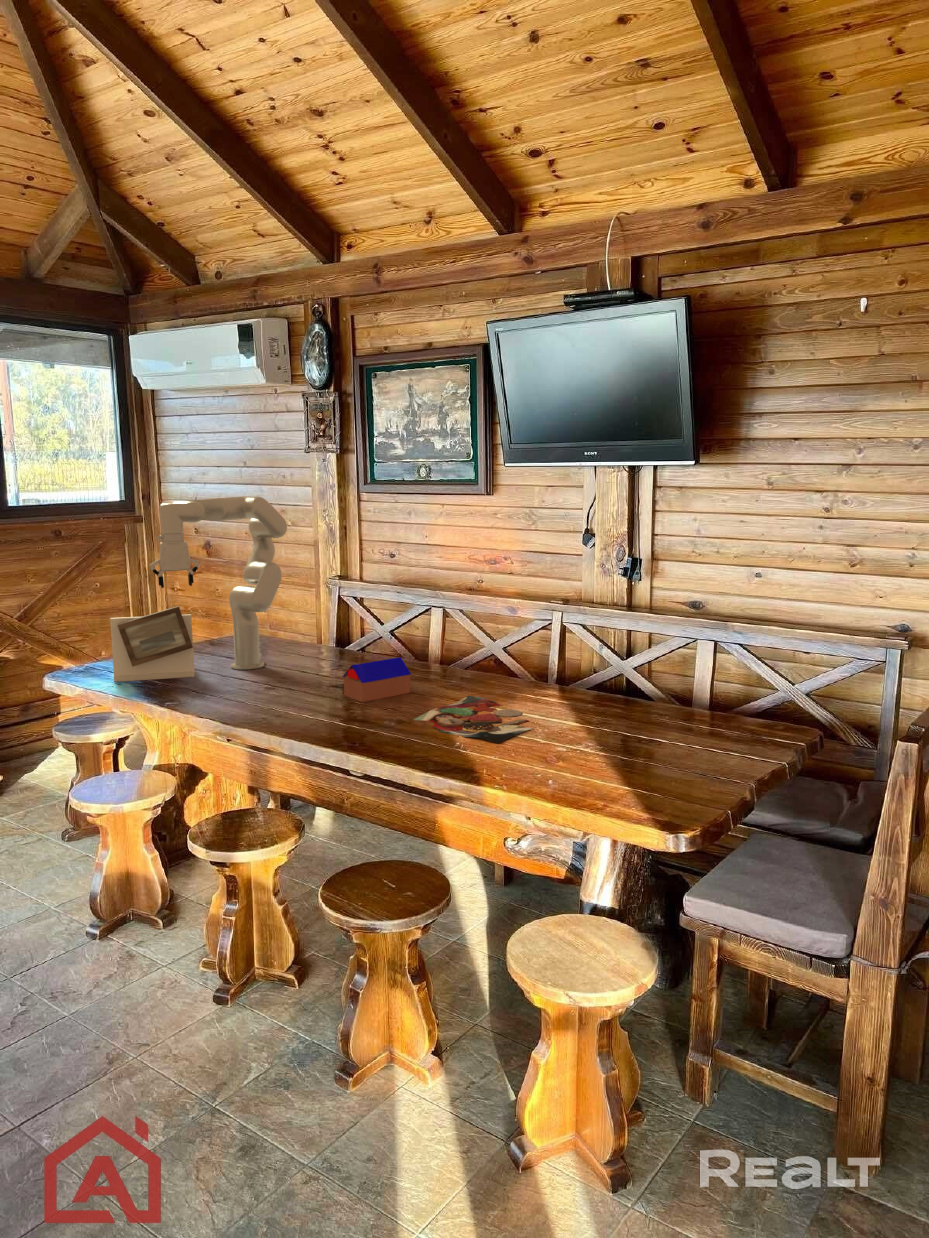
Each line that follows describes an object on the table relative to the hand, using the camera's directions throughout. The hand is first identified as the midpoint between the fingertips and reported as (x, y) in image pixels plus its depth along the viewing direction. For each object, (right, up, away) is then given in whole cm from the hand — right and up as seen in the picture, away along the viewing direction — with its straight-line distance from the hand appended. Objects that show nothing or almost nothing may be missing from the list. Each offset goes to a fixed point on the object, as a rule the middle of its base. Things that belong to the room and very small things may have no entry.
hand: (176, 586), depth 324 cm
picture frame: (-8, -25, +9) cm, 28 cm away
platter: (+108, -43, -46) cm, 125 cm away
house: (+73, -38, -13) cm, 83 cm away
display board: (-12, -33, +14) cm, 38 cm away
